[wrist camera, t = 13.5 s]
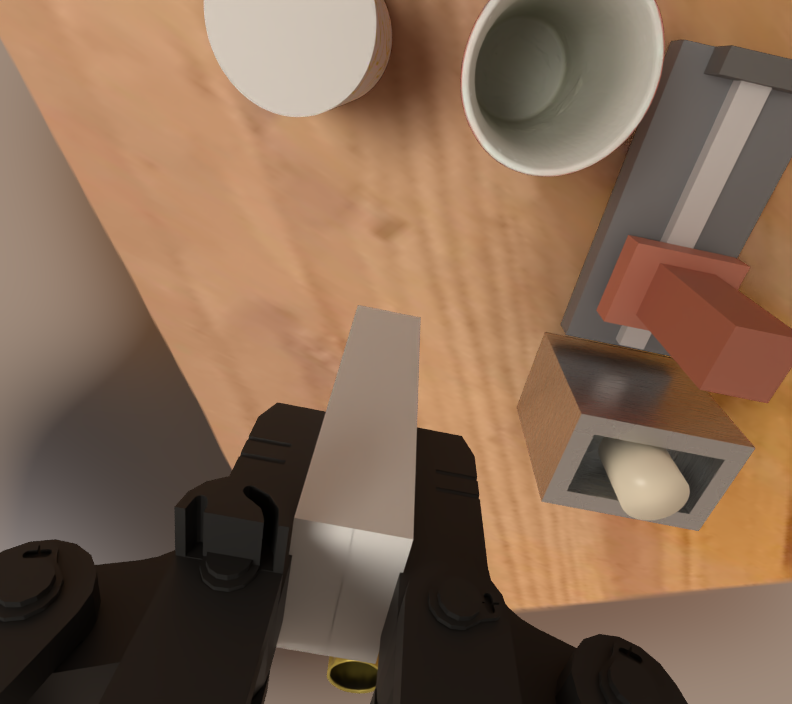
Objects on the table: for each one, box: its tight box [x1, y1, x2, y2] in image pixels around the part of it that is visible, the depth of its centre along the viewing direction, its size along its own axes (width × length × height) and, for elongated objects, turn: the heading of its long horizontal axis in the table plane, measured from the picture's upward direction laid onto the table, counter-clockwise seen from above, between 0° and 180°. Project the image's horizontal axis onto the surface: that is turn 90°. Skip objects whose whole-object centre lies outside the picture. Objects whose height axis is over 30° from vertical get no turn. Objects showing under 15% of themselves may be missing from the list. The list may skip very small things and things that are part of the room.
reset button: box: [598, 437, 690, 520], centre depth 36 cm, size 4×4×5 cm
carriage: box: [596, 235, 792, 403], centre depth 33 cm, size 6×8×12 cm
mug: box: [460, 0, 665, 176], centre depth 28 cm, size 13×9×14 cm
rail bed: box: [561, 40, 792, 356], centre depth 37 cm, size 21×10×4 cm, turn 169°
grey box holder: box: [517, 332, 755, 531], centre depth 41 cm, size 8×13×12 cm, turn 79°
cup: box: [204, 0, 392, 117], centre depth 30 cm, size 8×8×12 cm
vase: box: [327, 654, 379, 693], centre depth 52 cm, size 6×6×14 cm
